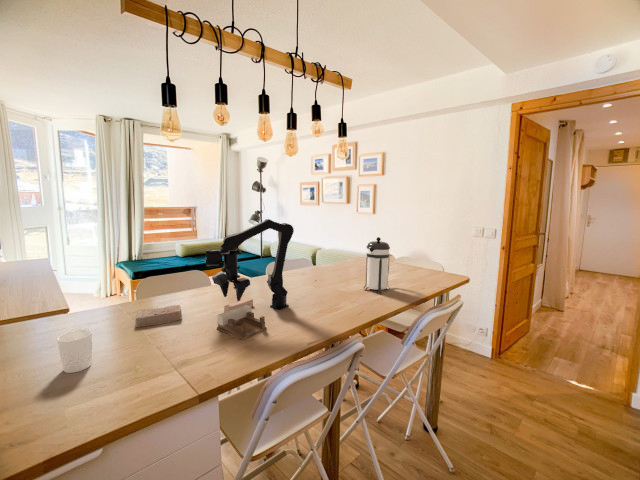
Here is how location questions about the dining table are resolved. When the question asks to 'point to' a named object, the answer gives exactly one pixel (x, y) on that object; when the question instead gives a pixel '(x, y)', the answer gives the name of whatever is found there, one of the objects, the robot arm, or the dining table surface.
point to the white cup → (75, 350)
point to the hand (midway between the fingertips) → (231, 298)
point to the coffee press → (377, 265)
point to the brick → (158, 315)
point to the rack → (243, 326)
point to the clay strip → (238, 304)
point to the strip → (233, 314)
